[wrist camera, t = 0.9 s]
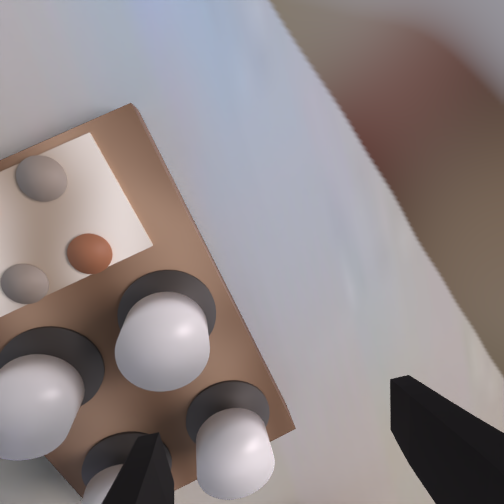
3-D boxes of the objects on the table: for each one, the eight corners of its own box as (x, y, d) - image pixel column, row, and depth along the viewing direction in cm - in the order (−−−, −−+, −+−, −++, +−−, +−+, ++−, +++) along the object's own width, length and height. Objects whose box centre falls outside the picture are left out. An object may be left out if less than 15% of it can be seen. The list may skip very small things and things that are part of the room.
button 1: (26, 438, 15) (4, 474, 13) (-28, 378, 14) (-59, 410, 12) (100, 402, 15) (89, 433, 13) (54, 340, 14) (35, 365, 12)
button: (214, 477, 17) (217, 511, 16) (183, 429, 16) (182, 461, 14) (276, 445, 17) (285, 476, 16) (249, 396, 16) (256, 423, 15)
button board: (114, 491, 21) (105, 532, 18) (-112, 220, 15) (-167, 231, 12) (286, 404, 21) (297, 433, 19) (138, 109, 15) (129, 101, 13)
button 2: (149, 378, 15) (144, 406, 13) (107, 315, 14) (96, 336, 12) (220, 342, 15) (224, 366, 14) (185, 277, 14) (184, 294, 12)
